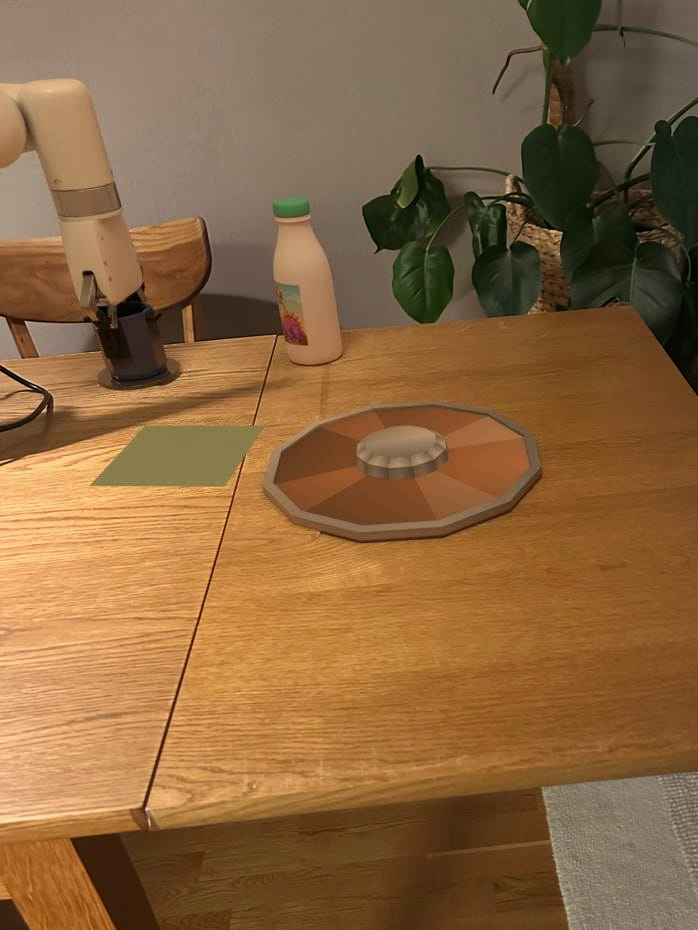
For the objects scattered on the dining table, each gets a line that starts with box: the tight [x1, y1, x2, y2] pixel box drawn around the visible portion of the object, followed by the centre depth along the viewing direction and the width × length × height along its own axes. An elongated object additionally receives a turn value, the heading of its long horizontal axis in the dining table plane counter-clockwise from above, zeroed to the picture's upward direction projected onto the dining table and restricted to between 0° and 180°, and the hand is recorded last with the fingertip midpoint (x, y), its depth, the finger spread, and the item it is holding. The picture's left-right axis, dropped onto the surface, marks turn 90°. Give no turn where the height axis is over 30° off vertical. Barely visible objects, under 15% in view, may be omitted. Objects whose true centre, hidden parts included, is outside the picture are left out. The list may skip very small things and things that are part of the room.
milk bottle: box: [272, 196, 343, 366], centre depth 112 cm, size 8×8×20 cm
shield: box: [261, 400, 542, 543], centre depth 89 cm, size 30×3×30 cm
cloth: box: [89, 425, 265, 488], centre depth 95 cm, size 15×15×1 cm
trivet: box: [96, 356, 182, 392], centre depth 115 cm, size 11×11×1 cm
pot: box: [82, 301, 168, 380], centre depth 112 cm, size 10×7×8 cm
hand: (131, 345), depth 112 cm, fingers closed on pot, 7 cm apart
